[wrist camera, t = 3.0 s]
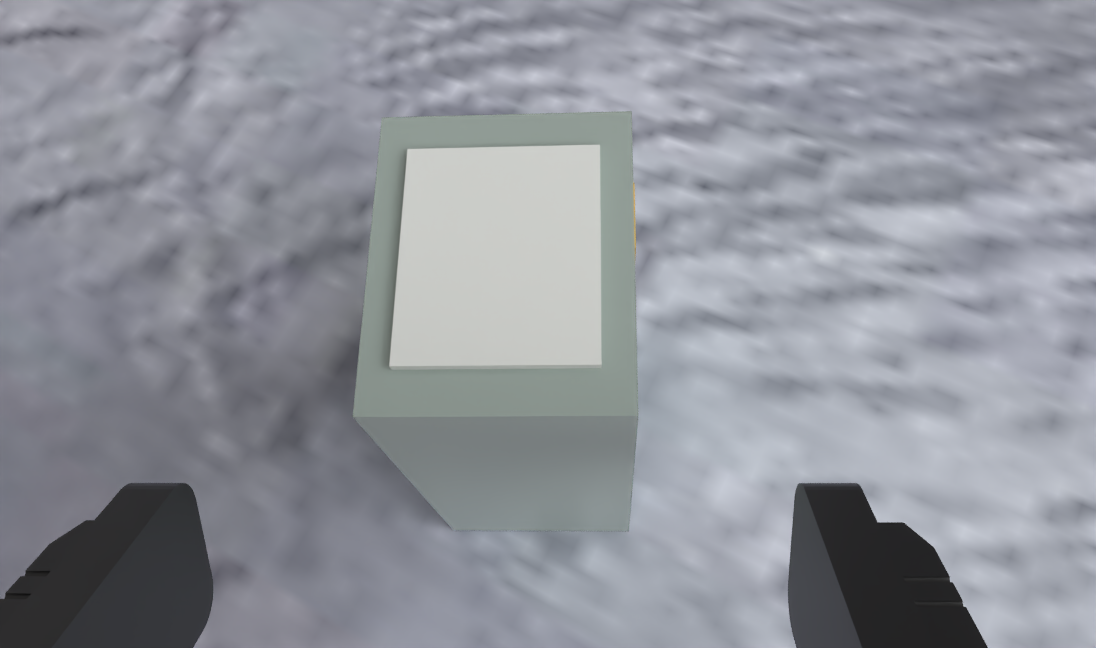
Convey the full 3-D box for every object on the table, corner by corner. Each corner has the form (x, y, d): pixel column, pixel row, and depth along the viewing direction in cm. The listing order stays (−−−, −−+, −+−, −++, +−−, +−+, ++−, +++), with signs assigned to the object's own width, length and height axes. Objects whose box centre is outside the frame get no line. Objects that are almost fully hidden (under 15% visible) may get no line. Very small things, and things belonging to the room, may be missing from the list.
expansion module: (627, 326, 23) (634, 105, 15) (631, 531, 21) (641, 412, 13) (462, 328, 23) (376, 112, 15) (451, 530, 22) (346, 413, 13)
